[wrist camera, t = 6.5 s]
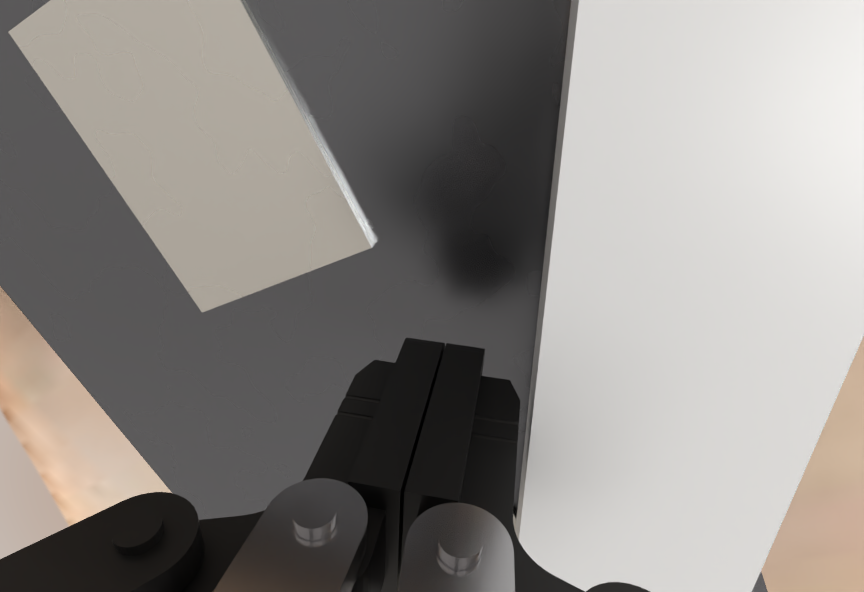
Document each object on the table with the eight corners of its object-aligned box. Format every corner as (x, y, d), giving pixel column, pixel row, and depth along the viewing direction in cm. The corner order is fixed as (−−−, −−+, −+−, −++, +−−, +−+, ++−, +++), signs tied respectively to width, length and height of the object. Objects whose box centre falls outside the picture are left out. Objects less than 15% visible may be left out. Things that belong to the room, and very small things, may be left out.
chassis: (-47, 23, 16) (-221, 33, 13) (451, -377, 10) (396, -571, 7) (407, 651, 27) (384, 754, 23) (774, 624, 21) (819, 754, 18)
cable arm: (604, 771, 20) (615, 953, 16) (492, 746, 21) (478, 915, 17) (946, -322, 7) (1447, -726, 3) (602, -293, 7) (650, -594, 4)
